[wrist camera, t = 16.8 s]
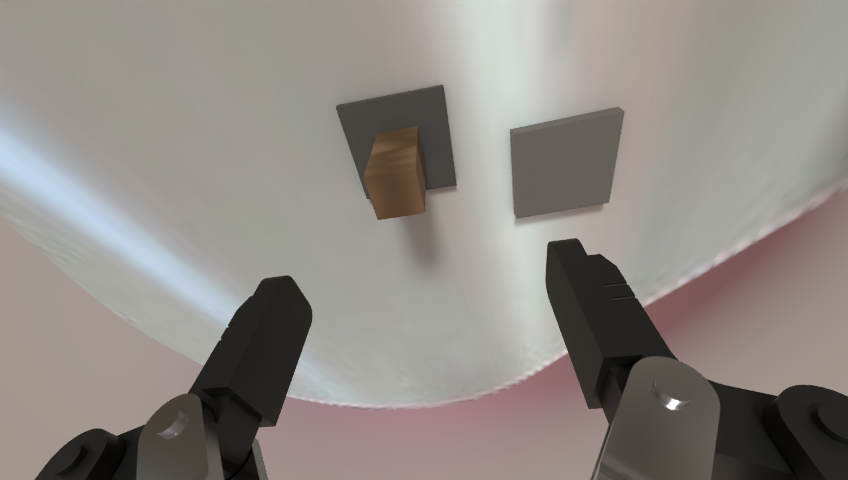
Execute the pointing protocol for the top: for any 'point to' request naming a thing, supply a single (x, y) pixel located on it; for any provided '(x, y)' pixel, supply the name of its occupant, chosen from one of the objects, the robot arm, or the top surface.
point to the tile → (565, 162)
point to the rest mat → (400, 114)
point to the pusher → (396, 174)
